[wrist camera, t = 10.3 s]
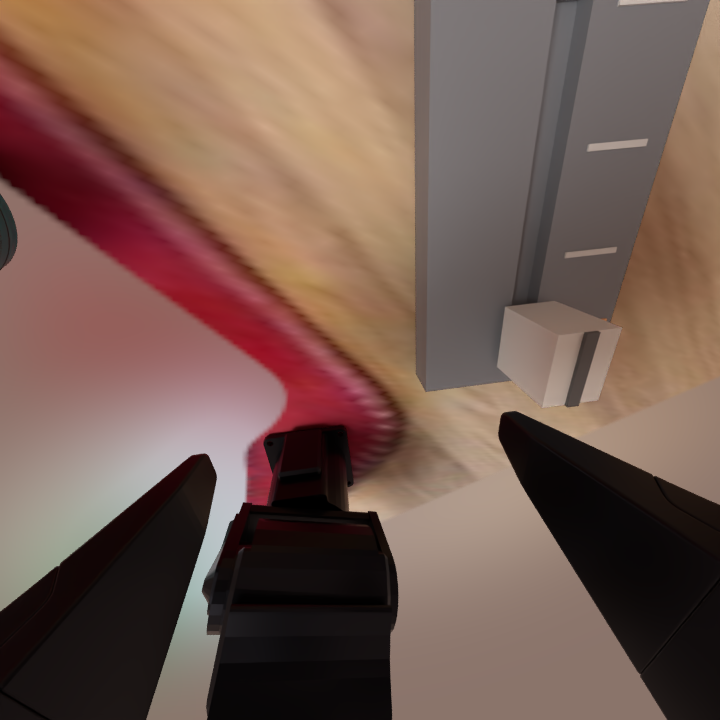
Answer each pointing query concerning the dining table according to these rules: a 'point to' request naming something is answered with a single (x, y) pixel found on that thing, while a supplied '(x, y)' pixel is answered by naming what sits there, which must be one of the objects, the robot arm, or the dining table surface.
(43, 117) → the dining table surface
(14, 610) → the robot arm
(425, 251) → the console
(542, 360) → the fader knob
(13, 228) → the beverage bottle
